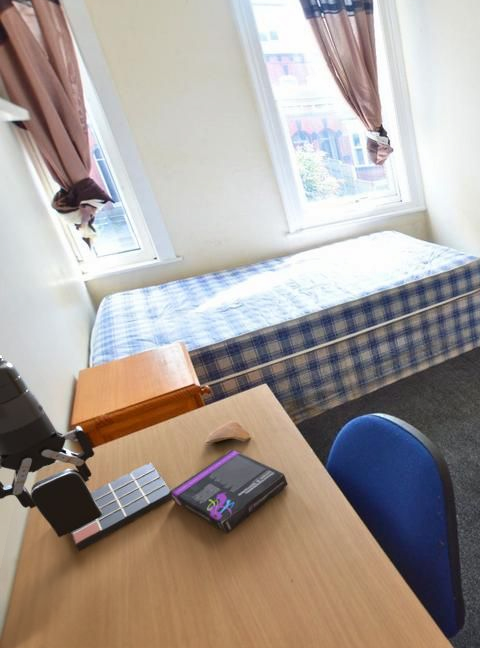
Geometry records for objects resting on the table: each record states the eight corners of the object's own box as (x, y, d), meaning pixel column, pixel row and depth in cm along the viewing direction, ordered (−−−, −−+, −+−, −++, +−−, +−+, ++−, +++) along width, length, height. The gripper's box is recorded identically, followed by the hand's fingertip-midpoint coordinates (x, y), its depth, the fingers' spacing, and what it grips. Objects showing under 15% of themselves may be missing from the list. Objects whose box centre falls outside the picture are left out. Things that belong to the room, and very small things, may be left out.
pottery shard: (251, 440, 115) (248, 432, 114) (209, 456, 111) (205, 448, 110) (248, 420, 124) (245, 412, 123) (208, 434, 119) (204, 426, 118)
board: (79, 550, 89) (75, 544, 88) (65, 512, 99) (61, 506, 98) (174, 497, 100) (171, 491, 99) (153, 467, 109) (150, 461, 109)
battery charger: (102, 506, 93) (75, 461, 89) (104, 516, 91) (77, 470, 86) (56, 529, 89) (25, 483, 84) (57, 540, 86) (26, 493, 82)
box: (174, 503, 98) (226, 536, 89) (167, 491, 97) (219, 522, 87) (237, 460, 109) (289, 484, 99) (232, 448, 108) (284, 472, 98)
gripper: (64, 392, 87) (103, 461, 94) (-48, 434, 77) (5, 508, 84) (71, 405, 82) (112, 477, 89) (-47, 451, 73) (9, 528, 79)
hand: (60, 492), depth 87 cm, fingers closed on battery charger, 7 cm apart
